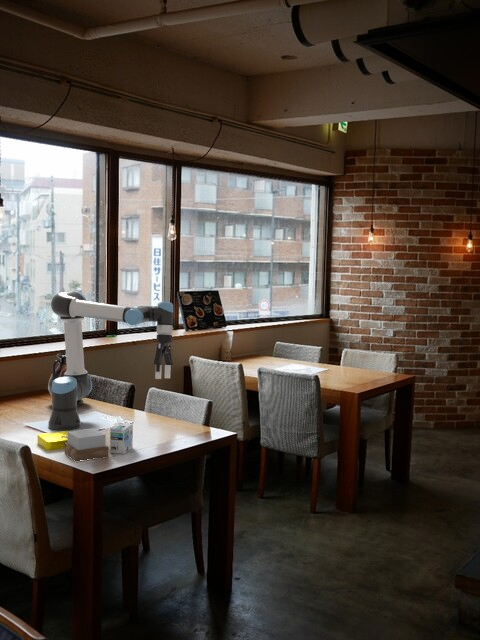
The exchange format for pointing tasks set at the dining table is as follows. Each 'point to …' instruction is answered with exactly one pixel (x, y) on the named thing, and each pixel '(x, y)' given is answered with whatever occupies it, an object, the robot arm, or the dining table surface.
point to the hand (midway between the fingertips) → (162, 378)
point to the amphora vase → (60, 373)
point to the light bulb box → (121, 438)
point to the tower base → (86, 452)
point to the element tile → (52, 440)
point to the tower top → (86, 439)
